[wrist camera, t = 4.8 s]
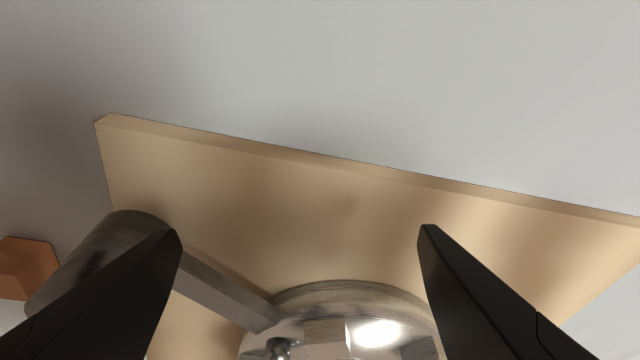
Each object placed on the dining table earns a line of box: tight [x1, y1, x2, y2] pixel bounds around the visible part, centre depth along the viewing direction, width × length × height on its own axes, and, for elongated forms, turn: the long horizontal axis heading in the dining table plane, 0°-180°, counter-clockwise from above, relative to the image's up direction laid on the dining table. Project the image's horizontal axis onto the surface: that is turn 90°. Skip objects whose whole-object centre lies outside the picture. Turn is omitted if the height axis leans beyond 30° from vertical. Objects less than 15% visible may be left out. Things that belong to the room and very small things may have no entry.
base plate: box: [0, 113, 640, 360], centre depth 18 cm, size 30×24×2 cm
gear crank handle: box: [24, 210, 447, 360], centre depth 14 cm, size 20×12×4 cm, turn 41°
